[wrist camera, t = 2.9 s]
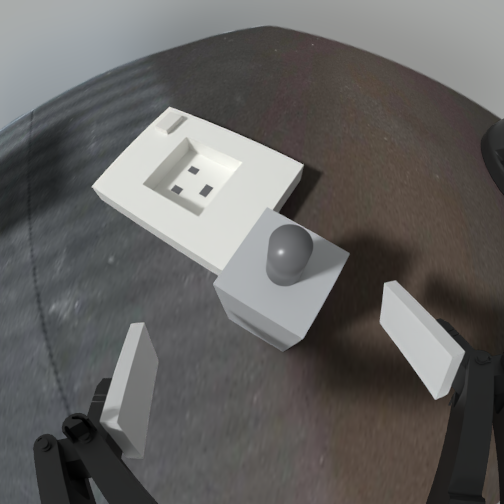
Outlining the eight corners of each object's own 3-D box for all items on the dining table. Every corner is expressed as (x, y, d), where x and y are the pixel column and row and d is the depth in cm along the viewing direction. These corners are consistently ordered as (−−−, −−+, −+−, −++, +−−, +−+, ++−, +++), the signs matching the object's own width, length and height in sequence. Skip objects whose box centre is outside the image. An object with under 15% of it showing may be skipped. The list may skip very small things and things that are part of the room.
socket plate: (300, 179, 29) (304, 160, 26) (230, 283, 25) (227, 271, 22) (173, 121, 32) (168, 102, 29) (101, 199, 28) (89, 183, 26)
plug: (314, 298, 25) (369, 227, 13) (283, 351, 23) (315, 330, 11) (255, 264, 26) (257, 167, 14) (222, 314, 24) (190, 254, 12)
